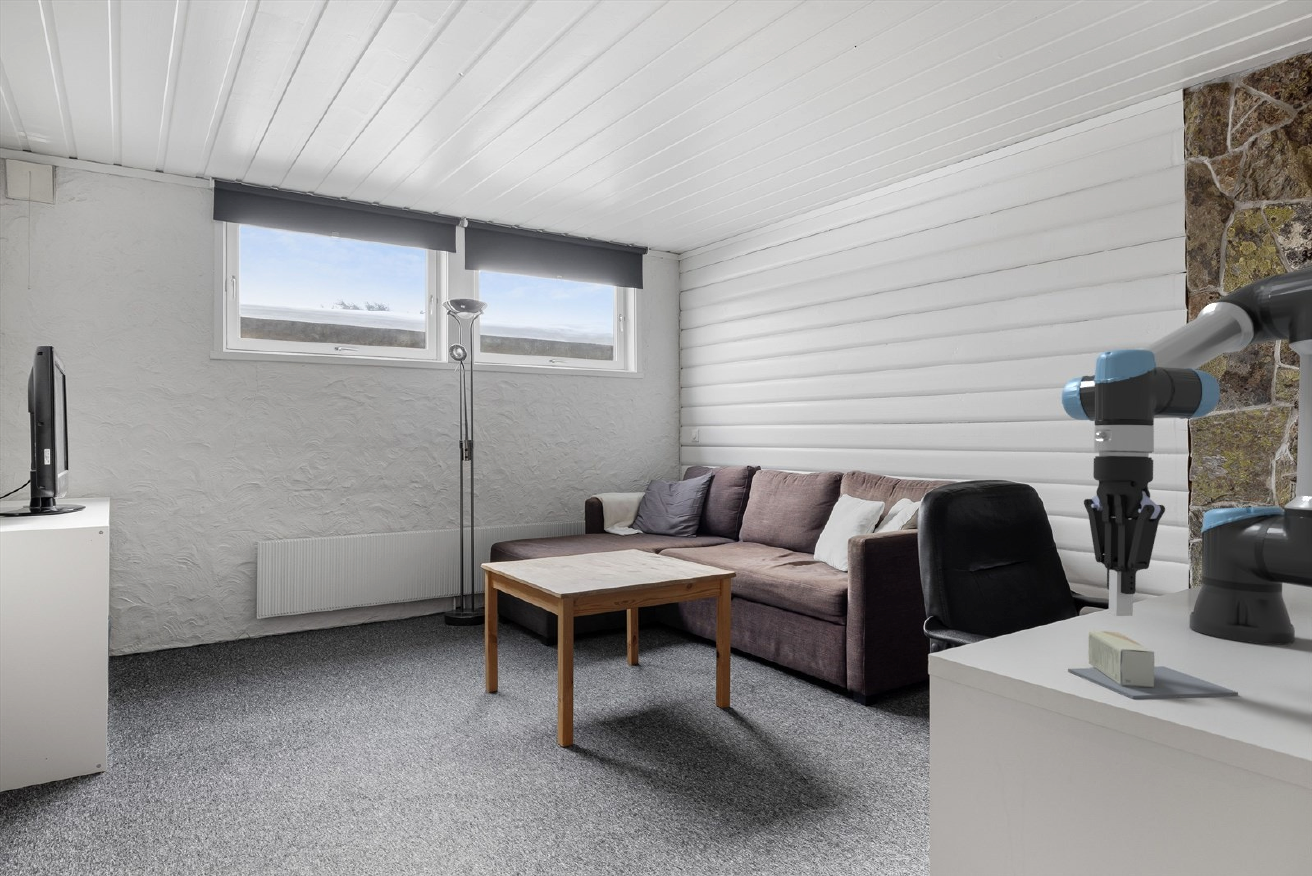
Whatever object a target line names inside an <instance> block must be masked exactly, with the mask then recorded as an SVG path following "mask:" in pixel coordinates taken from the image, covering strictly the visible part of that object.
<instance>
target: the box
mask: <svg viewBox="0 0 1312 876" xmlns="http://www.w3.org/2000/svg"><path fill="white" fill-rule="evenodd" d="M1087 655H1088V664H1089V665H1091V666H1092V667H1093V668H1096V669H1098V670H1099V671H1101V672H1102V673H1104V674H1105V675H1106V676H1108V677H1109V678H1111V679H1112V680H1114V681H1115V682H1116V683H1118V684H1119V685H1121V686H1131V687H1154V667H1155V652H1154V651H1153V650H1151V649H1149V648H1148V647H1145V646H1144V645H1142V644H1140V643H1138V642H1137V641H1135V640H1133V639H1131V638H1129V637H1128V636H1126V635H1123V633H1120V632H1117V631H1116V632H1115V631H1103V630H1089V631H1088V654H1087Z"/></svg>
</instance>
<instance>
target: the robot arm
mask: <svg viewBox="0 0 1312 876" xmlns="http://www.w3.org/2000/svg"><path fill="white" fill-rule="evenodd" d="M1283 340H1284V341H1286V340H1288V347H1289V349H1291V350H1292V351H1293V352H1295V353H1296V354H1297V355H1298V356H1299V380H1298V383H1299V384H1298V387H1299V388H1298V419H1297V420H1298V421H1297V422H1298V423H1297V428H1298V429H1297V459H1296V461H1297V462H1296V463H1297V465H1296V491H1295V492H1296V496H1295V497H1294V498H1293V499H1292V500H1290V501H1289V502H1288V503H1286V504H1285V505H1284V510H1283V508H1282V507H1281V506H1259V507H1257V506H1254V507H1253V506H1251V507H1250V506H1249V507H1225V508H1213V509H1209V510H1208V511H1206V512H1205V513H1204V515H1203V517H1202V518H1203V519H1202V528H1201V531H1200V534H1201V588H1200V591H1199V593H1198V595H1197V598H1196V601H1195V604H1194V607H1193V611H1191V612H1190V614H1189V625H1188V626H1189V628H1190V629H1191V630H1193V631H1195V632H1198V633H1200V634H1204V635H1208V636H1212V637H1217V638H1222V639H1228V640H1233V641H1239V642H1245V643H1255V644H1270V645H1272V644H1273V645H1283V644H1285V645H1286V644H1292V643H1294V642H1295V637H1296V636H1295V635H1296V633H1295V632H1296V631H1295V627H1294V625H1293V624H1292V622H1291V619H1290V616H1289V612H1288V608H1287V606H1286V603H1285V600H1284V598H1283V597H1284V595H1283V584H1285V585H1287V584H1288V585H1293V586H1300V587H1306V588H1311V589H1312V267H1309V268H1303V269H1300V270H1295V271H1290V272H1285V273H1277V274H1272V275H1269V276H1266V277H1262V278H1260V279H1258V280H1255V281H1252V282H1250V283H1248V284H1245V285H1244V286H1242V287H1239V288H1238V289H1236V290H1234V291H1232V292H1229V293H1228V294H1226V295H1225V296H1223V297H1221V298H1219V299H1217V300H1215V301H1212V303H1210V304H1208V305H1207V306H1204V308H1202V309H1201V310H1200V312H1199V313H1198V314H1197V317H1196V318H1195V319H1193V320H1191V321H1190V322H1188V323H1186V324H1184V325H1182V326H1181V327H1179V328H1177V329H1176V330H1174V331H1171V332H1170V333H1168V334H1167V335H1164V336H1162V337H1161V338H1160V339H1158V340H1156V341H1154V342H1152V343H1150V344H1149V345H1147V346H1145V347H1143V348H1142V349H1141V348H1140V349H1135V348H1132V349H1130V348H1129V349H1128V348H1127V349H1114V350H1108V351H1103V352H1101V353H1100V354H1099V355H1098V356H1097V358H1096V361H1095V370H1094V371H1095V372H1094V374H1093V375H1083V376H1081V377H1074V378H1072V379H1070V380H1068V382H1067V383H1066V384H1065V385H1064V387H1063V389H1062V391H1061V404H1062V407H1063V409H1064V412H1066V414H1067V415H1068V416H1069V417H1070V418H1072V419H1075V420H1080V421H1090V422H1094V434H1093V435H1094V439H1093V442H1094V443H1093V444H1094V445H1093V450H1094V451H1095V453H1098V455H1096V456H1095V457H1094V458H1093V473H1092V474H1093V475H1092V476H1093V479H1094V480H1096V481H1098V485H1097V488H1096V493H1095V494H1096V495H1095V496H1093V497H1092V498H1085V499H1084V500H1083V506H1084V507H1085V509H1086V512H1087V514H1088V515H1087V516H1088V520H1089V526H1090V532H1091V539H1092V545H1093V552H1094V559H1095V561H1096V562H1097V563H1100V564H1102V565H1104V567H1105V569H1106V588H1107V590H1108V614H1109V615H1112V616H1115V617H1126V616H1128V617H1133V611H1134V609H1133V608H1134V606H1133V604H1134V600H1133V599H1134V595H1135V593H1136V589H1137V588H1136V587H1137V586H1136V584H1137V583H1136V582H1137V581H1136V580H1137V579H1136V578H1137V572H1138V571H1141V570H1148V568H1149V567H1150V563H1151V558H1152V554H1153V549H1154V546H1155V545H1154V544H1155V540H1156V537H1157V532H1158V527H1159V523H1160V520H1161V519H1162V517H1163V515H1164V514H1165V511H1166V507H1165V506H1164V505H1163V504H1156V503H1155V502H1154V501H1153V500H1152V499H1151V491H1150V490H1149V486H1148V485H1149V483H1151V482H1153V480H1154V459H1153V458H1152V457H1149V454H1152V453H1154V450H1155V446H1154V445H1155V443H1154V442H1155V439H1154V438H1155V436H1154V435H1155V429H1154V428H1155V427H1154V424H1155V423H1154V421H1155V419H1164V418H1166V419H1167V418H1170V419H1171V418H1175V419H1176V418H1178V419H1181V420H1184V419H1185V420H1186V419H1187V420H1189V419H1199V418H1202V417H1205V416H1206V415H1208V414H1210V413H1211V412H1212V411H1213V410H1214V409H1215V408H1216V406H1217V405H1218V403H1219V401H1220V394H1221V391H1220V384H1219V382H1218V381H1217V379H1216V378H1215V377H1214V376H1213V375H1212V374H1211V373H1209V372H1207V371H1204V370H1200V369H1198V368H1200V367H1201V366H1204V365H1205V364H1207V363H1209V362H1210V361H1212V360H1213V359H1214V360H1215V359H1216V358H1217V357H1219V356H1221V355H1222V354H1224V353H1229V354H1230V353H1235V352H1239V351H1241V350H1243V349H1245V348H1246V347H1248V346H1251V345H1256V344H1260V343H1266V342H1274V341H1283Z"/></svg>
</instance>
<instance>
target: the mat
mask: <svg viewBox="0 0 1312 876" xmlns="http://www.w3.org/2000/svg"><path fill="white" fill-rule="evenodd" d="M1067 672H1068V673H1070V674H1073V675H1076V676H1078V677H1080V678H1083V679H1085V680H1087V681H1090V682H1092V683H1094V684H1097V685H1099V686H1101V687H1104V688H1106V689H1108V690H1111V691H1114V692H1116V693H1118V694H1121V695H1123V696H1126V697H1127V698H1130V699H1133V700H1134V699H1135V700H1136V699H1139V700H1140V699H1164V698H1165V699H1167V698H1196V697H1197V698H1199V697H1225V696H1226V697H1227V696H1228V697H1229V696H1239V692H1238V691H1236V690H1233V689H1231V688H1226V687H1223V686H1222V685H1218V684H1215V683H1212V682H1210V681H1206V680H1205V679H1201V678H1199V677H1196V676H1192V675H1189V674H1187V673H1183V672H1181V671H1178V670H1175V669H1172V668H1170V667H1167V666H1163V665H1161V666H1158V665H1157V666H1154V687H1131V686H1121V685H1119V684H1118V683H1116V682H1115V681H1114V680H1112V679H1111V678H1109V677H1108V676H1106V675H1105V674H1104V673H1102V672H1101V671H1099V670H1098V669H1096V668H1095V667H1086V668H1084V667H1083V668H1079V667H1078V668H1067Z"/></svg>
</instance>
